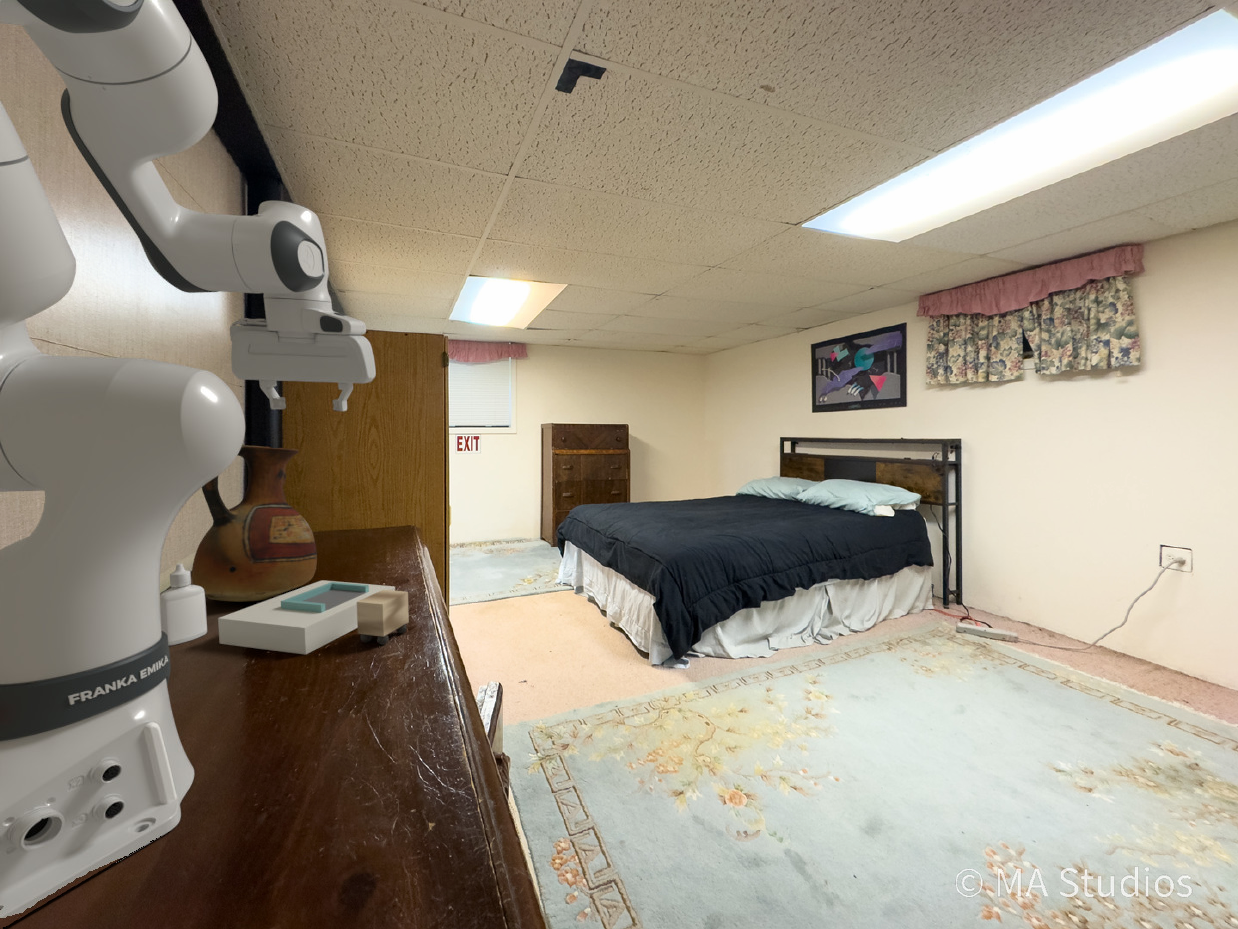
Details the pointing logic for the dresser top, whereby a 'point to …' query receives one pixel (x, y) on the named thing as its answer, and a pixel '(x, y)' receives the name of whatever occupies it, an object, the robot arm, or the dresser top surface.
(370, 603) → the beige wheeled cart
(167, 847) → the dresser top surface
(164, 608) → the eye dropper bottle
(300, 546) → the ceramic pitcher
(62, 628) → the robot arm
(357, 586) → the dock
